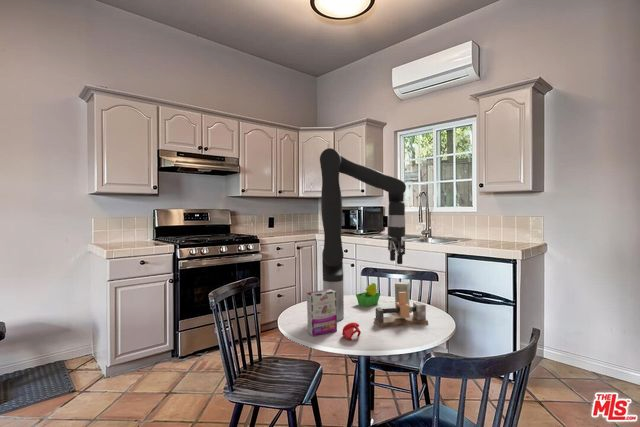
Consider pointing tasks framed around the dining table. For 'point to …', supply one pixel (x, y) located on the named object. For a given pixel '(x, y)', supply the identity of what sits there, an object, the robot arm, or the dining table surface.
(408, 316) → the sleeve
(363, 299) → the fruit basket
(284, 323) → the dining table surface
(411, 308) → the rail
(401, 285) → the skincare box
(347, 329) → the red toy helmet
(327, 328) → the candy bar box
